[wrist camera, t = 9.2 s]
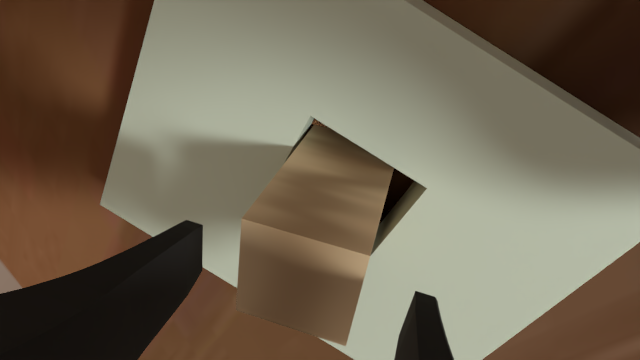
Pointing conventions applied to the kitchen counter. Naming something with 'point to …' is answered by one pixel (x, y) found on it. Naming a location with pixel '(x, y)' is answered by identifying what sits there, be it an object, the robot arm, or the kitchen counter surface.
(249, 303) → the oak peg
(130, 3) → the kitchen counter surface
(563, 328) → the kitchen counter surface
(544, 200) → the socket board
